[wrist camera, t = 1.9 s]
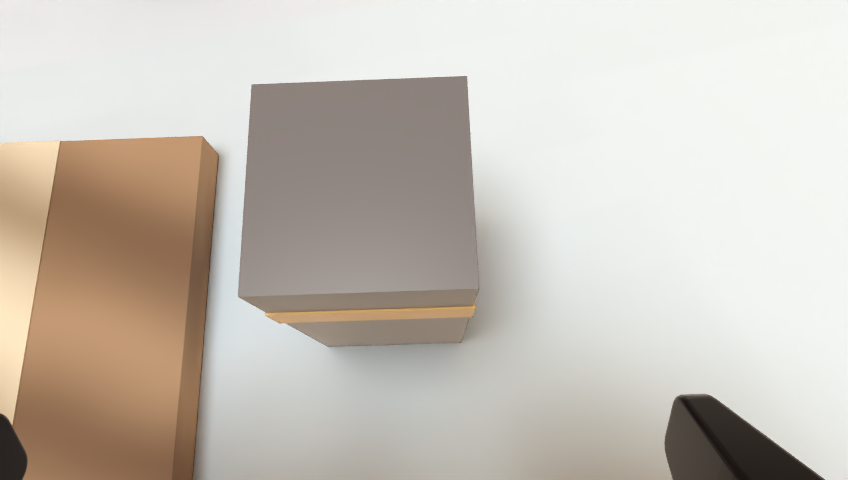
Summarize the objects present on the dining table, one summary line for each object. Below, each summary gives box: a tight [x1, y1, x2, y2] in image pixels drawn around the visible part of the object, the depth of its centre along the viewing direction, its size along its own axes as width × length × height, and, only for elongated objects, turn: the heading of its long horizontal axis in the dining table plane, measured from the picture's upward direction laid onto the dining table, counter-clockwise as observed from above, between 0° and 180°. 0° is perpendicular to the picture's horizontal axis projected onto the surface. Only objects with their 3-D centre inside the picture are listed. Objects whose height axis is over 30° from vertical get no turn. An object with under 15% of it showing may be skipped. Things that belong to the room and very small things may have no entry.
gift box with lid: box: [238, 76, 479, 347], centre depth 16 cm, size 5×5×9 cm
